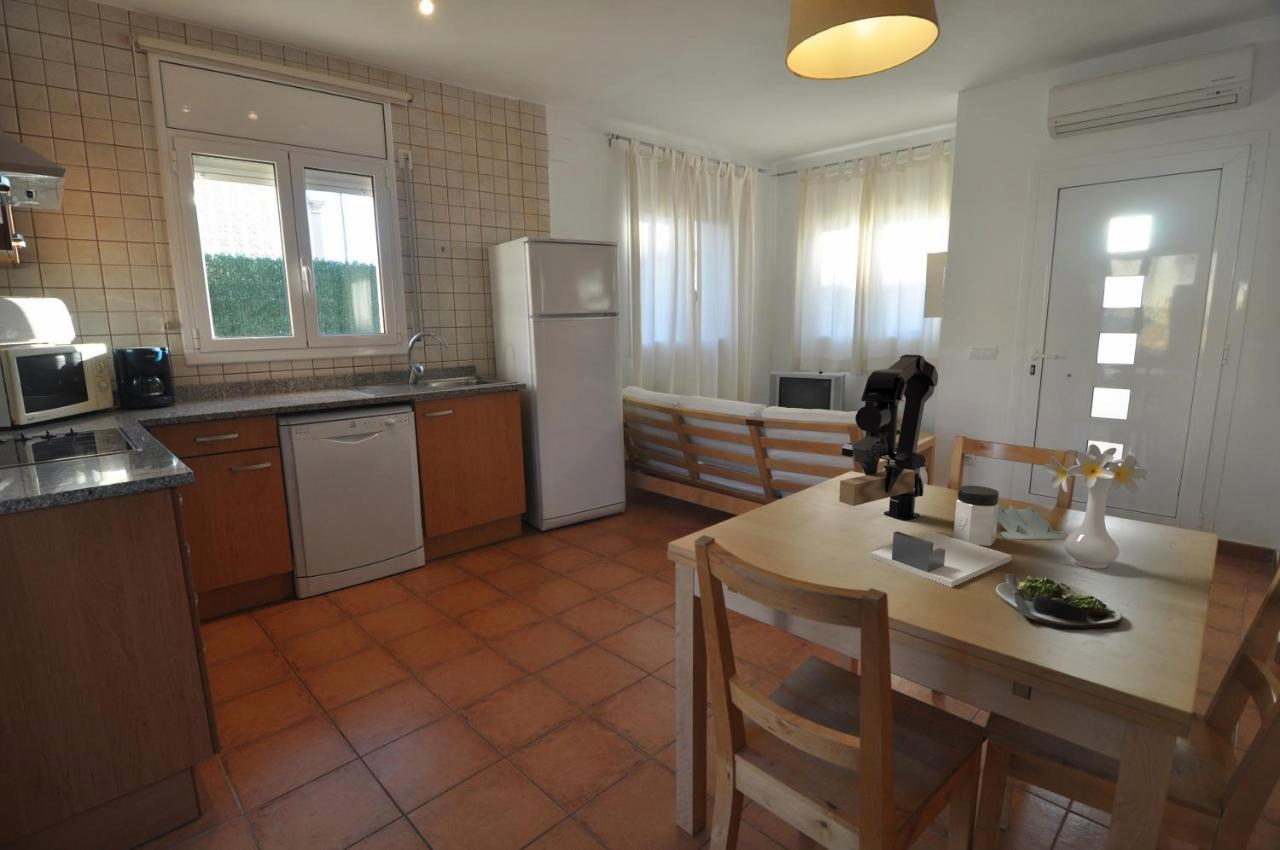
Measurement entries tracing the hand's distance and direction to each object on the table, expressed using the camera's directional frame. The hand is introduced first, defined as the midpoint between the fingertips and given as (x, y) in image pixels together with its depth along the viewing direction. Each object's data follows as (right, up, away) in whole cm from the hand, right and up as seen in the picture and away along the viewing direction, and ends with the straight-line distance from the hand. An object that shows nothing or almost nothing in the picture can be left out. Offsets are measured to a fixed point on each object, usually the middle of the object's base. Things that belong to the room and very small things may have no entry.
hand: (879, 490), depth 143 cm
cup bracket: (+1, -13, -18) cm, 22 cm away
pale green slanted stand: (+36, -11, +4) cm, 38 cm away
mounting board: (+8, -13, -13) cm, 20 cm away
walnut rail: (0, -1, 0) cm, 1 cm away
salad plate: (+17, -18, -35) cm, 43 cm away
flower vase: (+37, -14, -16) cm, 43 cm away
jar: (+21, -12, -2) cm, 24 cm away
